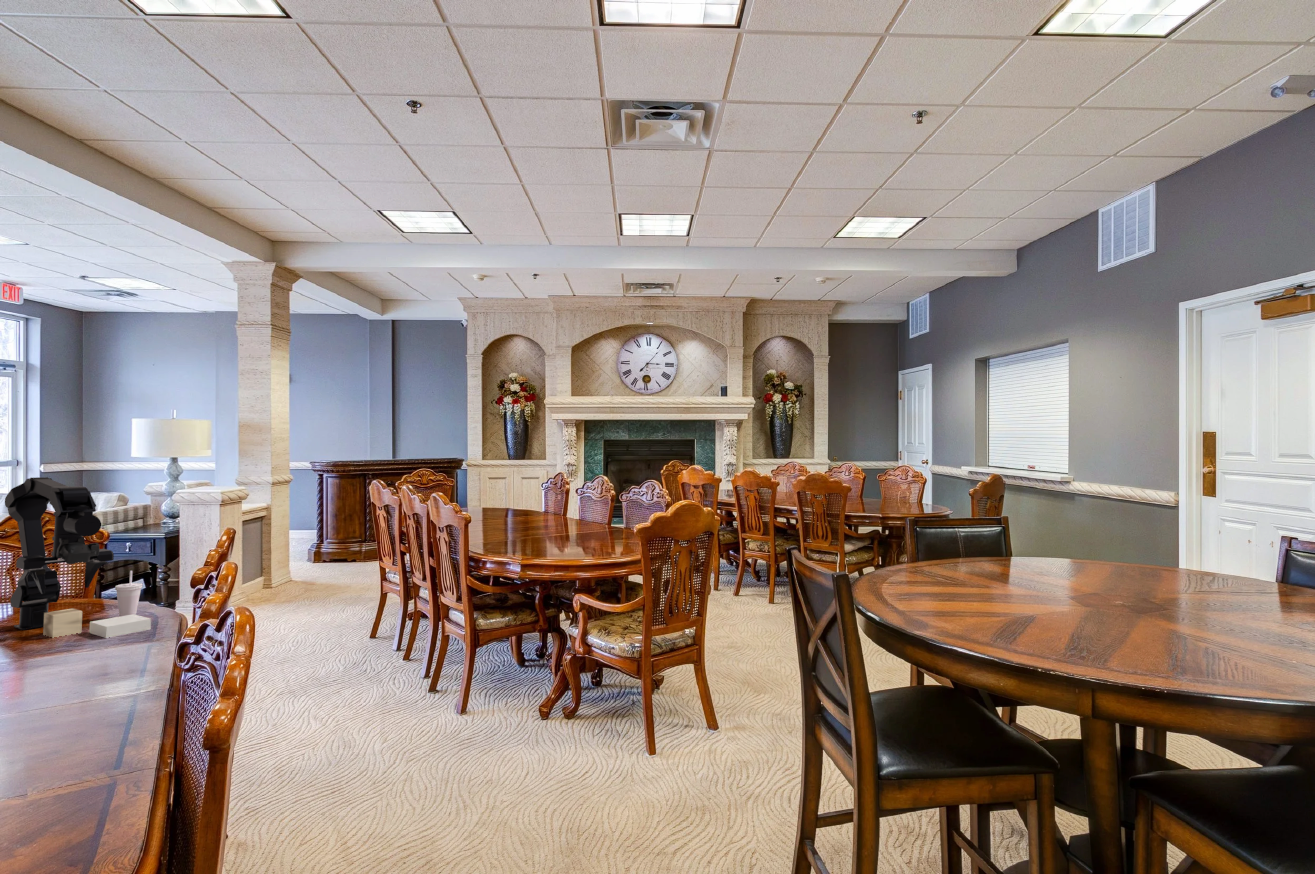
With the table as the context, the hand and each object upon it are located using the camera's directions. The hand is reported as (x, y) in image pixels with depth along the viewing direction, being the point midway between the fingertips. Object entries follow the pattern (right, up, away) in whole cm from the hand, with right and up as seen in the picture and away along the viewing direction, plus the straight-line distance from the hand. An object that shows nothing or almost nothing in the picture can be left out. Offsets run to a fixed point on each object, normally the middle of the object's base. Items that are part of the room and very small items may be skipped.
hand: (65, 590), depth 171 cm
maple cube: (-1, -12, 0) cm, 12 cm away
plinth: (+12, -12, +3) cm, 17 cm away
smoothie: (+2, -13, +18) cm, 22 cm away
